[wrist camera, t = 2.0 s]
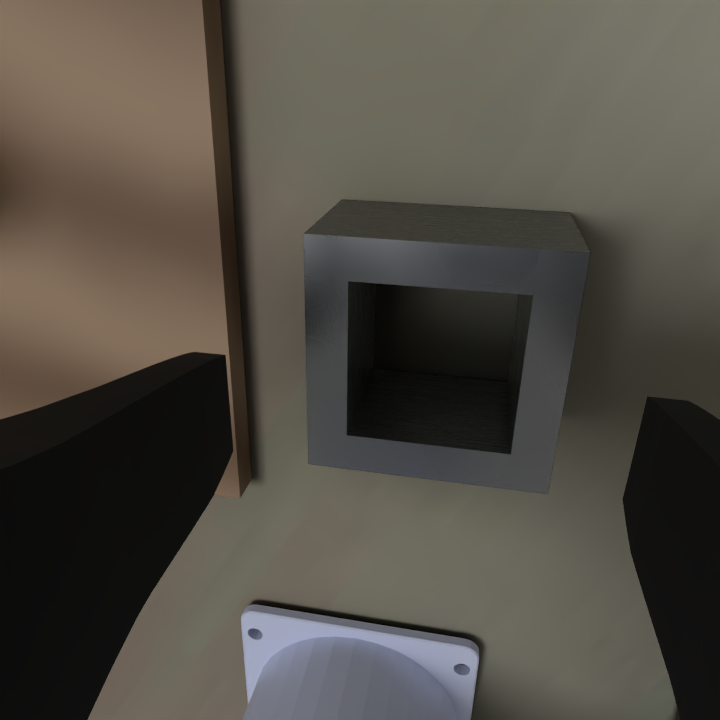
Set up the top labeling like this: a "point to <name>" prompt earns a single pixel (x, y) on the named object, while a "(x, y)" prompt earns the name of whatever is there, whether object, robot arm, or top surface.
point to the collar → (428, 391)
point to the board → (115, 201)
